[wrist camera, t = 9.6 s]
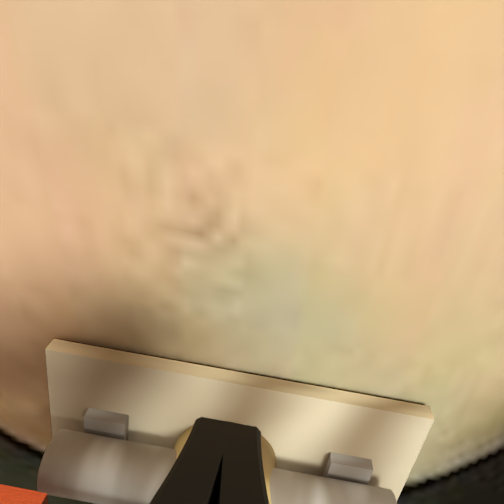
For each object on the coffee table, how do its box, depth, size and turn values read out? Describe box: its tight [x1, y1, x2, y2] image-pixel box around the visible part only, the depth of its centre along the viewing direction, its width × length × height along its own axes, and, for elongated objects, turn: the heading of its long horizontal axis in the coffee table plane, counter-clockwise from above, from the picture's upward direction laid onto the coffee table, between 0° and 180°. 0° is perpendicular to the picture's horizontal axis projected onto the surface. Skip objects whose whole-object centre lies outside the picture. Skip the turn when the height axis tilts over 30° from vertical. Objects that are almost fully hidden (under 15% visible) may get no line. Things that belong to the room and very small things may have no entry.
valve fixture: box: [37, 339, 434, 504], centre depth 21 cm, size 18×10×5 cm, turn 82°
